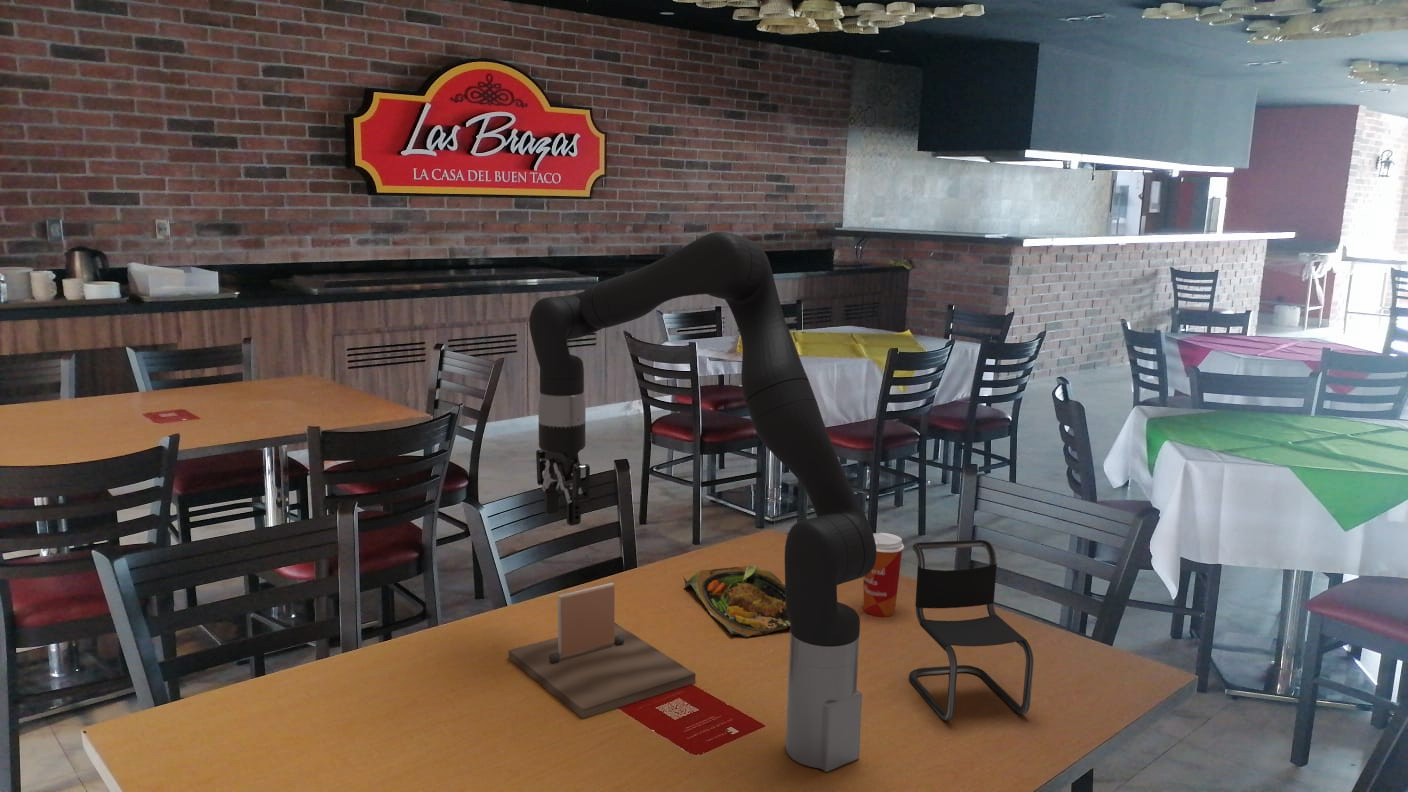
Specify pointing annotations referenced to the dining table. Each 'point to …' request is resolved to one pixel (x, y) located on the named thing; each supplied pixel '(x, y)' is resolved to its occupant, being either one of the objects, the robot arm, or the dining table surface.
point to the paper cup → (883, 576)
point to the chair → (964, 622)
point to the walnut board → (602, 672)
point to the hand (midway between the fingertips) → (562, 518)
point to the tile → (586, 619)
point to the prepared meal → (742, 598)
